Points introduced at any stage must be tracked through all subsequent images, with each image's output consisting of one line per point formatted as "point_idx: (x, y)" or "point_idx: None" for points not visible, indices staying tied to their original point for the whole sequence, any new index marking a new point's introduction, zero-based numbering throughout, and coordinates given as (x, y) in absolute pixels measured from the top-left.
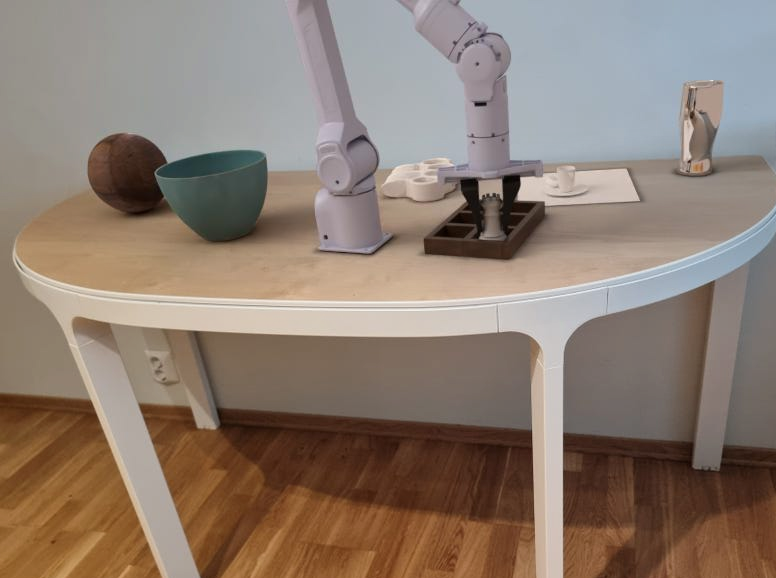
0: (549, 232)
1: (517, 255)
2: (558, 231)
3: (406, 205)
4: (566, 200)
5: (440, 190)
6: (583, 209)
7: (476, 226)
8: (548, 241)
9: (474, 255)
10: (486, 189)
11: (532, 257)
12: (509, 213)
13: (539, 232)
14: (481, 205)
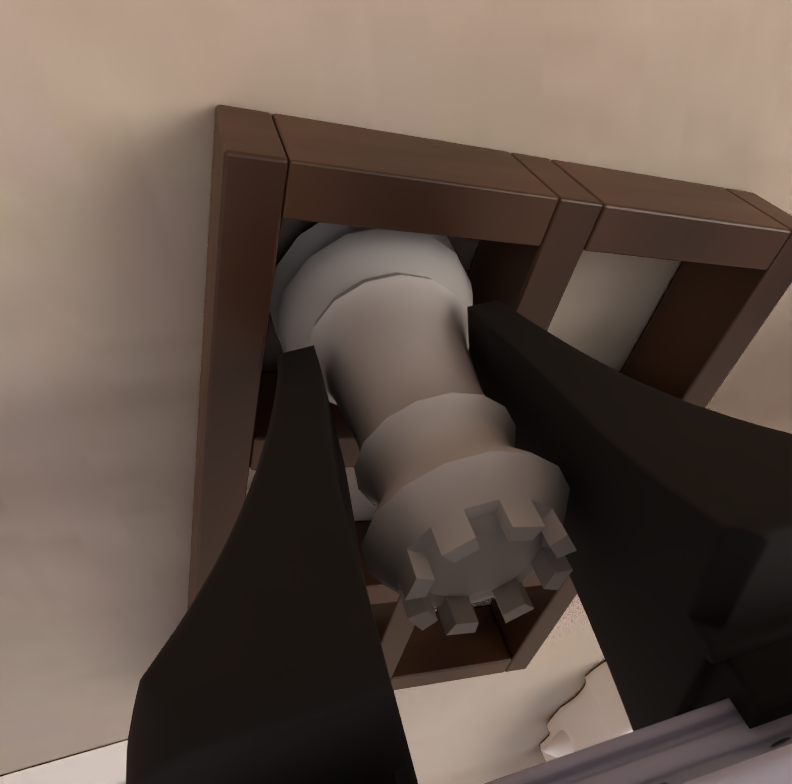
0: (89, 529)
1: (172, 194)
2: (41, 546)
3: None
4: None
5: (608, 697)
6: (30, 731)
7: (527, 319)
8: (39, 429)
9: (477, 149)
10: (451, 742)
11: (34, 158)
12: (270, 441)
13: (147, 520)
14: (549, 472)
